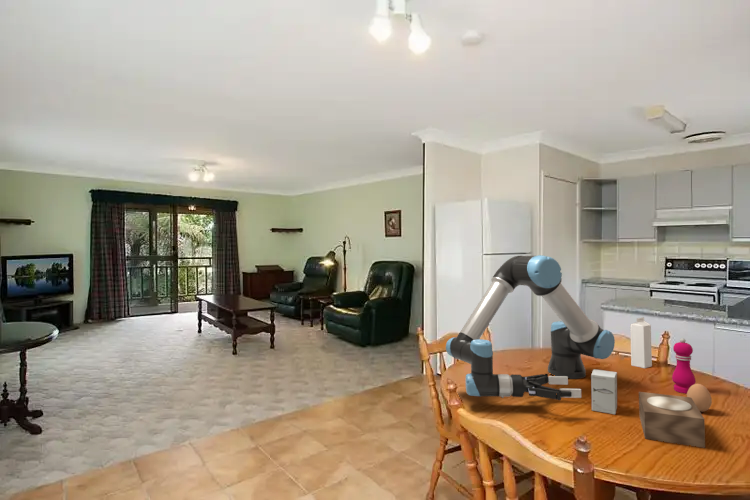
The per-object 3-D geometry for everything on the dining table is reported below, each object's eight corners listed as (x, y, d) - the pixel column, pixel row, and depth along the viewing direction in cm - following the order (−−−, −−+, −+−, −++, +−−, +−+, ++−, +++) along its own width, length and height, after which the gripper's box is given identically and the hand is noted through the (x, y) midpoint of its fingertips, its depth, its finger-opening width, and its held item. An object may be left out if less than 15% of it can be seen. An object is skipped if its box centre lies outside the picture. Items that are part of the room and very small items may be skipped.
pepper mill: (700, 394, 157) (698, 340, 157) (678, 393, 158) (676, 340, 158) (689, 388, 164) (688, 336, 164) (668, 387, 165) (667, 336, 165)
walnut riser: (645, 438, 124) (644, 409, 124) (639, 416, 140) (638, 390, 139) (705, 447, 117) (704, 417, 117) (691, 423, 133) (691, 396, 133)
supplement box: (591, 411, 145) (590, 374, 145) (594, 404, 151) (593, 368, 151) (615, 415, 141) (615, 377, 141) (617, 407, 147) (617, 371, 147)
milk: (652, 366, 193) (651, 318, 193) (644, 368, 190) (643, 319, 190) (638, 363, 199) (637, 316, 198) (630, 365, 196) (629, 317, 195)
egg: (687, 406, 147) (687, 379, 147) (712, 410, 142) (711, 383, 142) (686, 412, 142) (685, 384, 141) (711, 416, 137) (711, 388, 137)
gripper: (504, 384, 162) (562, 385, 159) (518, 409, 137) (587, 411, 135) (504, 365, 162) (562, 365, 159) (517, 386, 137) (586, 387, 135)
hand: (574, 386), depth 147 cm, fingers open, 13 cm apart
